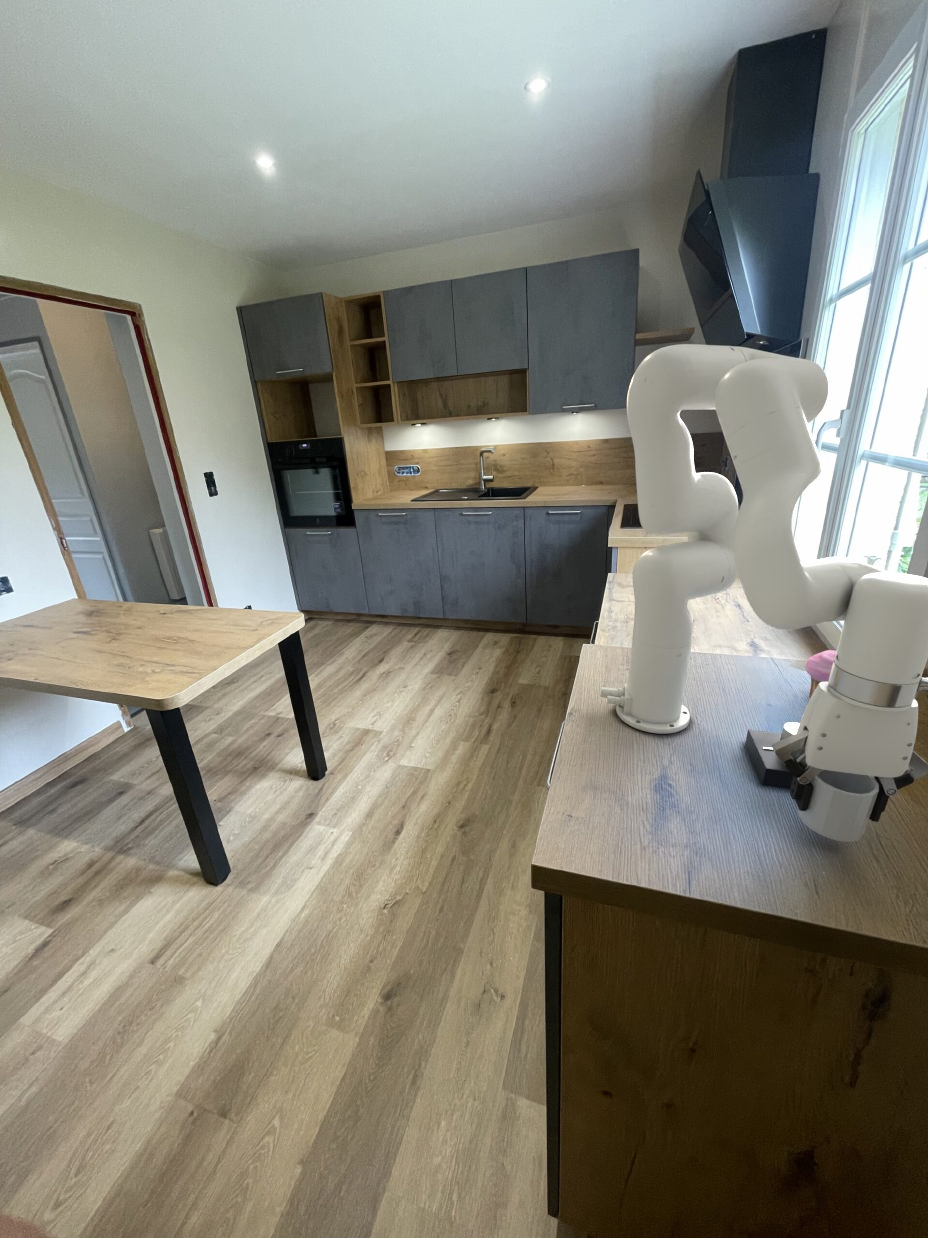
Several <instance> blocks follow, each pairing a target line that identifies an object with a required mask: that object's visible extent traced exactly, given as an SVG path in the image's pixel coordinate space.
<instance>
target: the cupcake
mask: <svg viewBox="0 0 928 1238" xmlns="http://www.w3.org/2000/svg"><path fill="white" fill-rule="evenodd" d="M836 651H837V650H832V649H826V650H824V651H821V652H818V653H816V654H814V655H811V656H810V657H809V658H808V659H807V660H806V663H805V671H806V673H807V674H808V675H809V676H810V689H809V699H810V698H811V696H812V694H813V693H814V691H815V689H816V688H817V686H818V685H819V683H820V682H828V681H829V677H830V673H831V669H832V666H833V662H834V658H835V654H836Z"/></svg>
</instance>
